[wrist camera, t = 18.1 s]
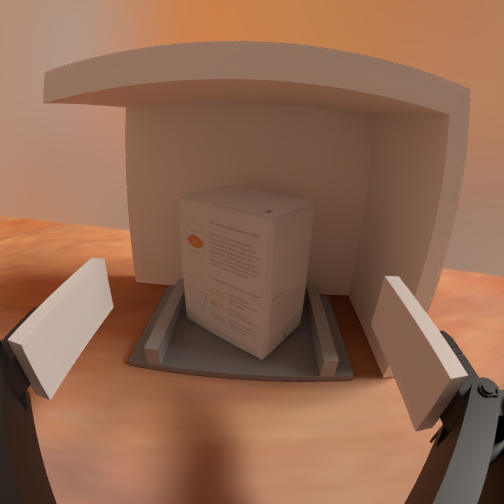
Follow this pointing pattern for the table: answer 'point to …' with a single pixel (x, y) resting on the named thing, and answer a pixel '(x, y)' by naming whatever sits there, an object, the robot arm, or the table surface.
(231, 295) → the small box
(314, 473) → the table surface
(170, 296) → the cabinet
